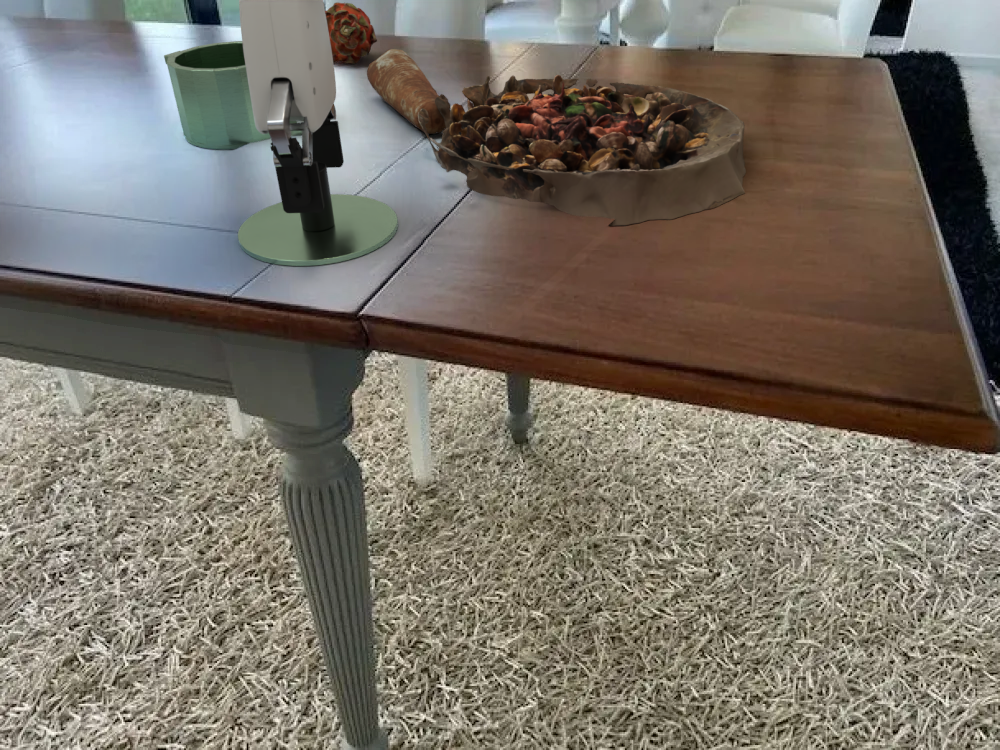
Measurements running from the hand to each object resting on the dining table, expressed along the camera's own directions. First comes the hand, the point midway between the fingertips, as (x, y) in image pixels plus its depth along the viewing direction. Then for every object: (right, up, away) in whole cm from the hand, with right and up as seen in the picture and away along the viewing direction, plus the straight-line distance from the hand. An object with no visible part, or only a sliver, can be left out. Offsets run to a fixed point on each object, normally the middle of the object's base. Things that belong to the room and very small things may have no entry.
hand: (315, 187), depth 72 cm
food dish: (+24, +7, +17) cm, 31 cm away
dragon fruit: (-7, +30, +52) cm, 60 cm away
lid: (0, -3, +2) cm, 4 cm away
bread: (+6, +15, +30) cm, 34 cm away
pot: (-14, +12, +27) cm, 33 cm away
